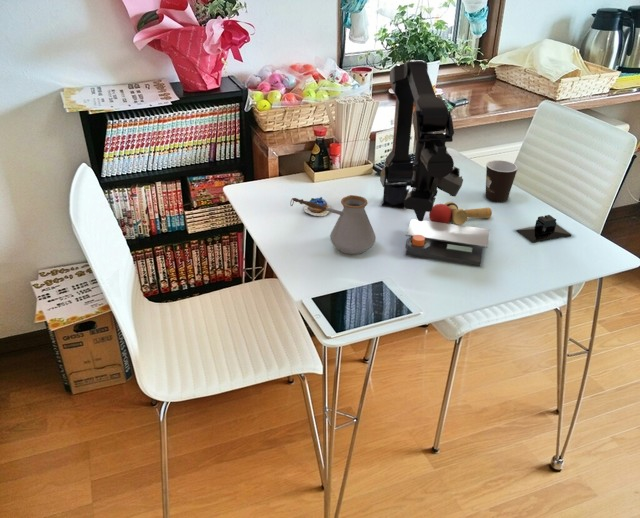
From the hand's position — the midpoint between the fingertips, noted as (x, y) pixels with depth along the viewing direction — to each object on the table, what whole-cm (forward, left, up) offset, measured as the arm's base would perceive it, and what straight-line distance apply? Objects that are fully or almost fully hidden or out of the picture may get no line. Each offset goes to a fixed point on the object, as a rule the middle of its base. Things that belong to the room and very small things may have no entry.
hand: (420, 220), depth 143 cm
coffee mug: (+18, +40, -9) cm, 45 cm away
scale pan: (+7, +7, -6) cm, 11 cm away
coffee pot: (-20, -4, -9) cm, 23 cm away
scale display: (+10, 0, -6) cm, 12 cm away
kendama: (+9, +20, -9) cm, 23 cm away
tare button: (0, 0, -6) cm, 6 cm away
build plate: (+31, +20, -9) cm, 38 cm away
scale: (+7, +5, -9) cm, 12 cm away
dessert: (-30, +15, -9) cm, 35 cm away
